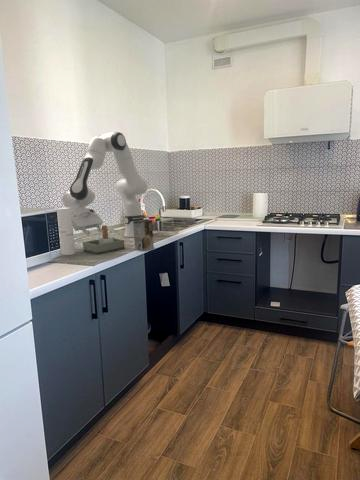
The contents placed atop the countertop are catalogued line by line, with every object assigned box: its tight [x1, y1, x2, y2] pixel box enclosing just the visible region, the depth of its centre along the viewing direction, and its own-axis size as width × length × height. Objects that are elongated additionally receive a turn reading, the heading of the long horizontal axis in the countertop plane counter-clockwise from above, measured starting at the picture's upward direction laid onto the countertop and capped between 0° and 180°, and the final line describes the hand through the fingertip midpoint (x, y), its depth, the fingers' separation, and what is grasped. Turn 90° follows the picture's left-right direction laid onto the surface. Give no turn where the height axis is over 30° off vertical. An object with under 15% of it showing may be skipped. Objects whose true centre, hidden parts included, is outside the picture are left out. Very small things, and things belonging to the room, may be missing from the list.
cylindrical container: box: [56, 207, 76, 256], centre depth 195 cm, size 7×7×25 cm
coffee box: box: [133, 219, 155, 252], centre depth 200 cm, size 9×6×16 cm
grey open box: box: [82, 235, 125, 255], centre depth 204 cm, size 18×15×7 cm
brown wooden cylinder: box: [101, 224, 109, 239], centre depth 201 cm, size 3×3×13 cm
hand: (94, 232), depth 205 cm, fingers open, 8 cm apart
